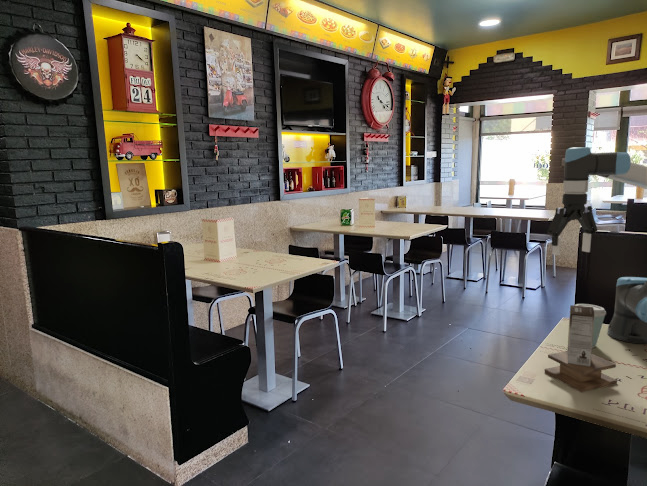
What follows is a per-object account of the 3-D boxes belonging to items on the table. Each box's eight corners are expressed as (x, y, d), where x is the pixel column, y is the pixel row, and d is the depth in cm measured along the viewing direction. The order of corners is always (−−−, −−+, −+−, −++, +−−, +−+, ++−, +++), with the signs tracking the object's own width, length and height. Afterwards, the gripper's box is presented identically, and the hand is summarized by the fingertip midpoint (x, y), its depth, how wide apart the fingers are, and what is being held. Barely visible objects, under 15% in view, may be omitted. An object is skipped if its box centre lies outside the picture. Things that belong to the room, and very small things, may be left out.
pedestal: (578, 365, 152) (579, 347, 151) (616, 383, 139) (618, 364, 138) (544, 372, 148) (545, 354, 147) (581, 392, 135) (582, 372, 134)
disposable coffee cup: (570, 337, 176) (573, 299, 173) (603, 342, 170) (606, 303, 168) (569, 347, 167) (571, 307, 164) (603, 352, 161) (607, 311, 159)
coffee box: (566, 352, 148) (569, 304, 145) (589, 355, 145) (593, 306, 142) (567, 363, 140) (570, 313, 137) (591, 367, 137) (595, 315, 134)
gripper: (593, 190, 166) (588, 248, 170) (538, 194, 158) (534, 254, 162) (611, 191, 159) (607, 251, 163) (555, 195, 151) (551, 258, 155)
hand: (571, 253), depth 162 cm, fingers open, 13 cm apart
